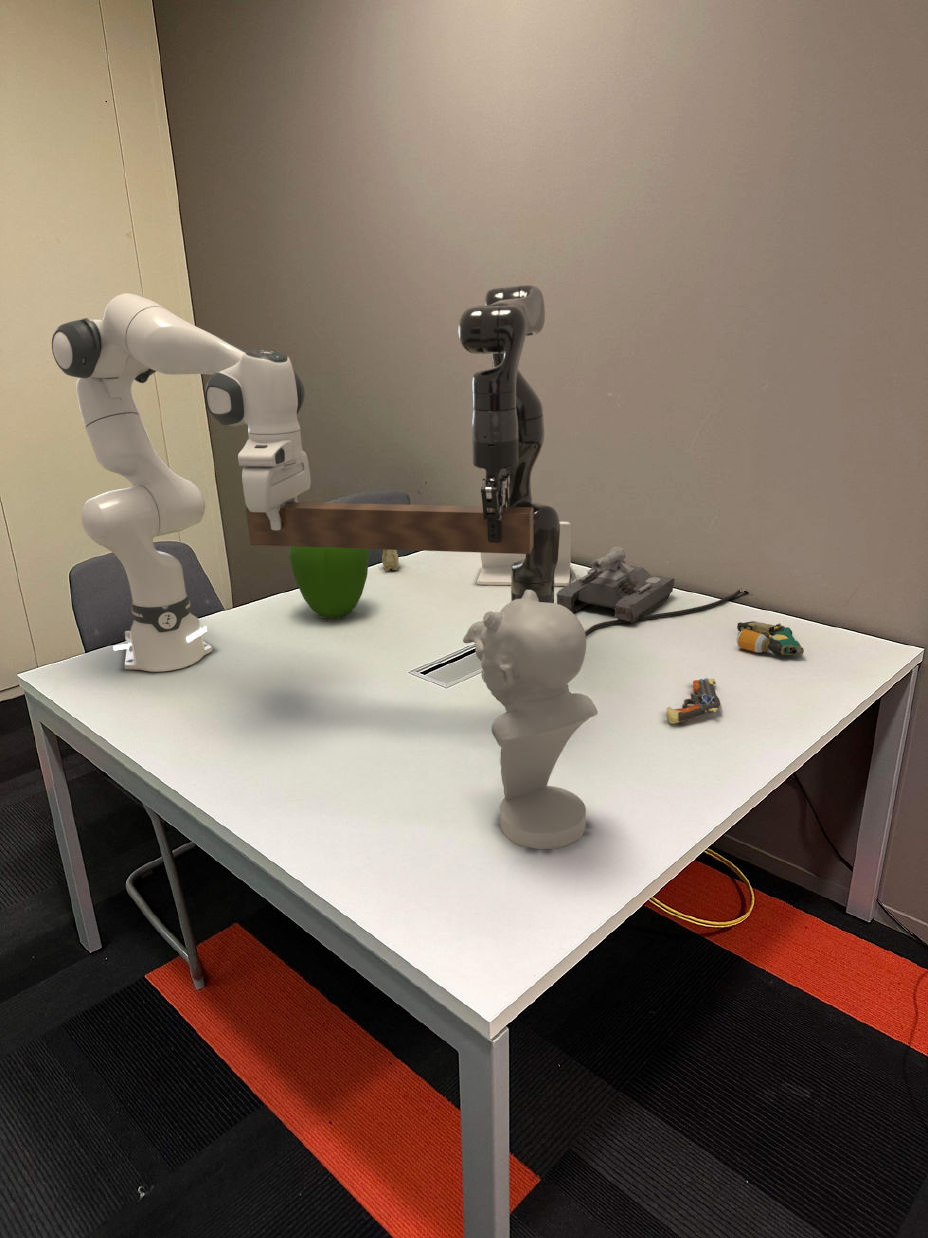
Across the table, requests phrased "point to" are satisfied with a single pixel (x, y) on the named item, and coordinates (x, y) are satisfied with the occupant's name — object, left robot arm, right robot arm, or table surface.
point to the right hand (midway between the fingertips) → (497, 537)
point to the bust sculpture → (534, 714)
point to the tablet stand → (500, 564)
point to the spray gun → (767, 638)
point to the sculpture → (390, 559)
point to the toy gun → (696, 702)
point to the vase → (330, 578)
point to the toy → (617, 588)
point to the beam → (393, 527)
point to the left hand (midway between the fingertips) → (283, 525)
